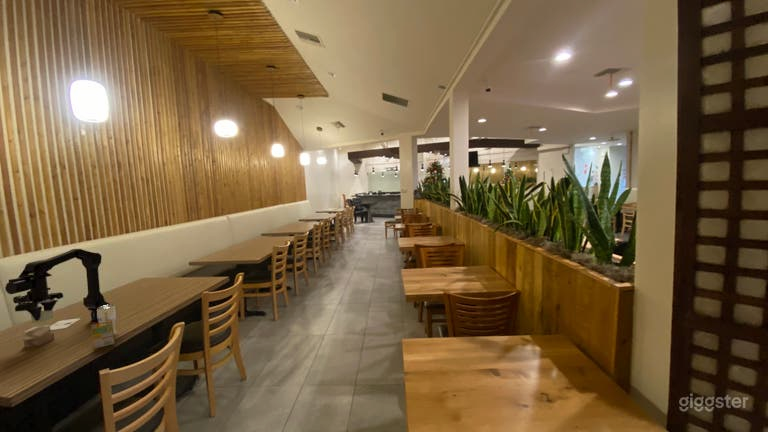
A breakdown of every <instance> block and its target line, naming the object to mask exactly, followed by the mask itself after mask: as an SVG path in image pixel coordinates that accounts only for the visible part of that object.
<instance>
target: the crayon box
mask: <svg viewBox="0 0 768 432" xmlns="http://www.w3.org/2000/svg"><path fill="white" fill-rule="evenodd" d="M105 323H106V324H105ZM100 324H105V325H100ZM91 335H92V342H93V349H95V350H96V349H98V348H102V347H106V346H110V345H111V346H112V345H115V343H116V340H115V335H114V330H113V323H112V321H108V322H103V323H99V322H98V323H94V324H91Z"/></svg>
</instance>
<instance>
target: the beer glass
mask: <svg viewBox="0 0 768 432" xmlns="http://www.w3.org/2000/svg"><path fill="white" fill-rule="evenodd" d="M116 317H117V313H116V307H115V304H110V305H104V306H101V307H98V308H97V318H98V321H97V322H98V324H99V323H103V322H108V321H112V323H113V330H114V336H115V335H116V334H117V333H118V332H117V330H116ZM105 324H106V323H105ZM105 324H100V325H105ZM100 325H99V326H100Z"/></svg>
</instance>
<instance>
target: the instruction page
mask: <svg viewBox="0 0 768 432" xmlns="http://www.w3.org/2000/svg"><path fill="white" fill-rule="evenodd" d="M81 319H82V318H81V317H80V318H79V317H78V318H71V319H64V320H63V319H62V320H59V321H57V322H55V323H53V324H52V325H50V330H51V331H55V330H56V331H57V330H64V329H67V328H68V327H70V326H71V325H73V324H75V323H76V322H78V321H80V320H81Z"/></svg>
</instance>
